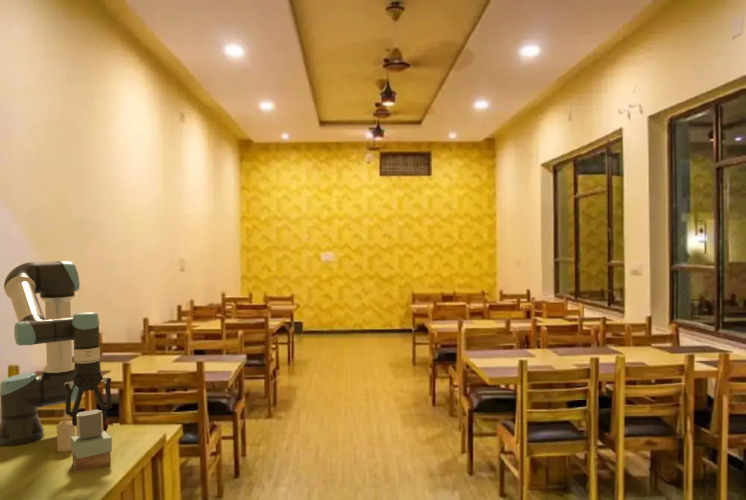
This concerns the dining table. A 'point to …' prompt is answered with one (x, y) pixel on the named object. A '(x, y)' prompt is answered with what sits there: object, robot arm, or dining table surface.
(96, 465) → the tower base
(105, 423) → the apple
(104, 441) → the tower top
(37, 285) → the robot arm
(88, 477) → the dining table surface
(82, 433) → the block
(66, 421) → the beige bottle
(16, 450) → the dining table surface
